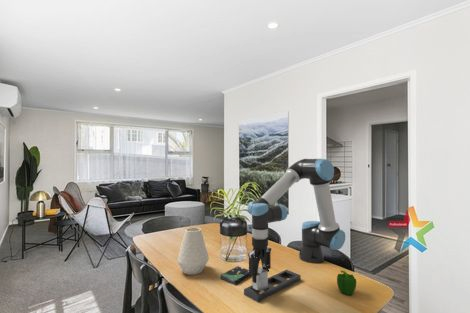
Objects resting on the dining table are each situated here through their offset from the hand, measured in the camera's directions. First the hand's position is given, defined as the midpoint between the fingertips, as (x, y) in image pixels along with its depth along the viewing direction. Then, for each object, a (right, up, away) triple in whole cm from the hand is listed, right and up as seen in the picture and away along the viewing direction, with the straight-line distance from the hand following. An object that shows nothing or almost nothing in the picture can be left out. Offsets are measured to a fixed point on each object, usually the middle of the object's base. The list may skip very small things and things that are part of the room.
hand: (259, 286), depth 121 cm
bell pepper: (+41, -4, +2) cm, 41 cm away
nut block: (0, 0, 0) cm, 0 cm away
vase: (-35, -4, +25) cm, 43 cm away
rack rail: (+8, -3, +7) cm, 11 cm away
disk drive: (-11, -4, +17) cm, 21 cm away
